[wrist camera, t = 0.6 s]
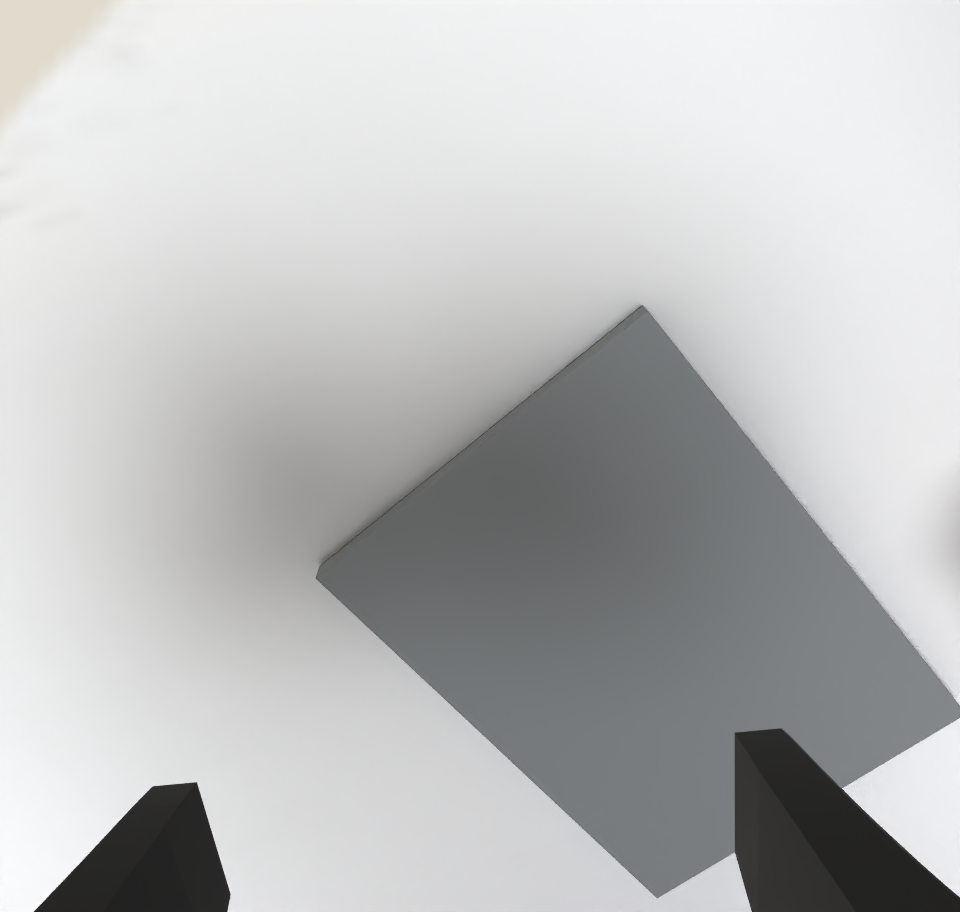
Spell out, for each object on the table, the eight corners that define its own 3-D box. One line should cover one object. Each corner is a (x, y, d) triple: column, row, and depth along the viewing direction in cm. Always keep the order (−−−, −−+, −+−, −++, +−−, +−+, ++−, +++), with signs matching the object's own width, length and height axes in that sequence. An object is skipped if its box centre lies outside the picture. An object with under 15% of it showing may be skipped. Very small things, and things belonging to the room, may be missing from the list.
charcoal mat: (954, 699, 22) (966, 714, 22) (653, 880, 25) (657, 898, 24) (642, 305, 18) (647, 311, 18) (319, 565, 21) (316, 578, 20)
